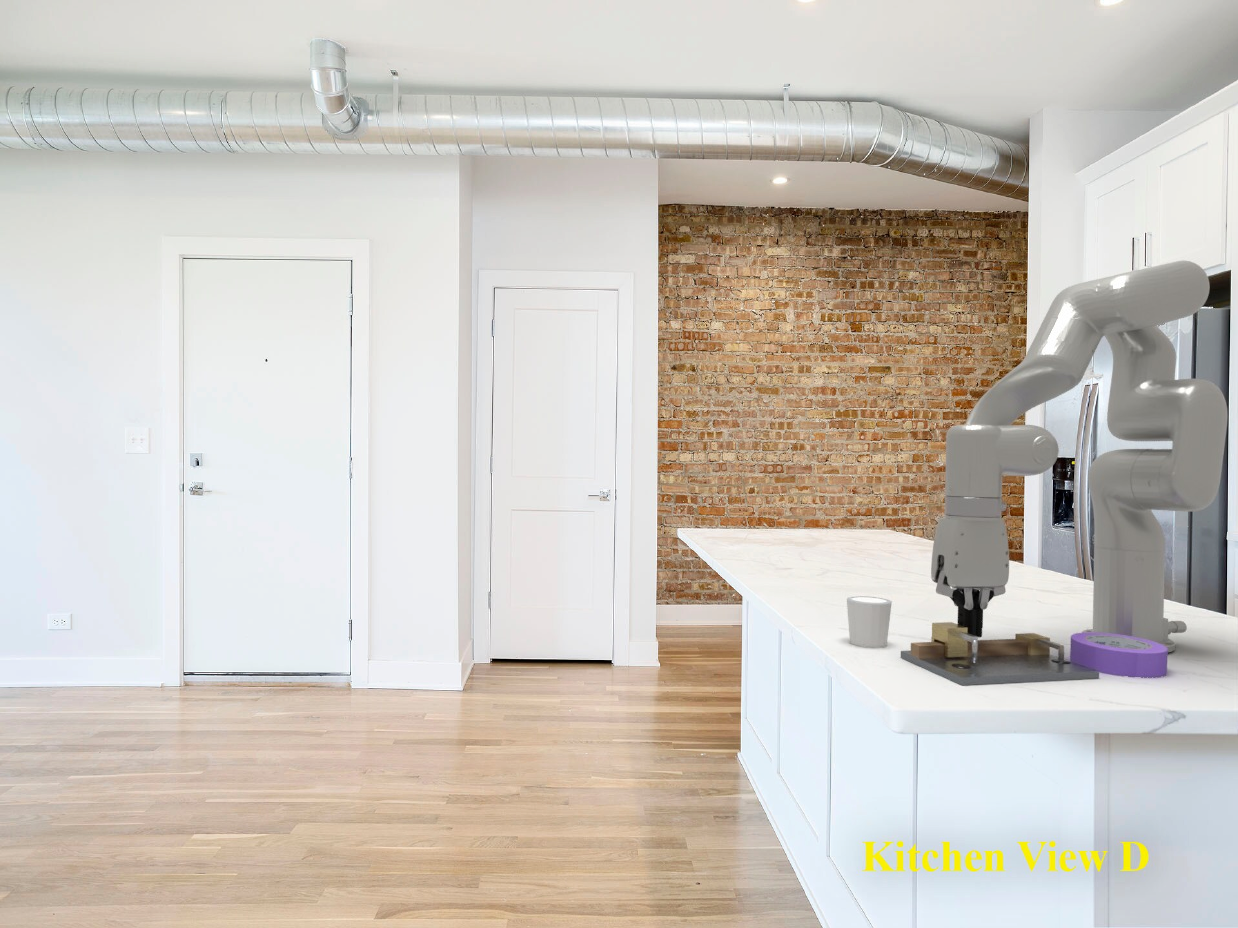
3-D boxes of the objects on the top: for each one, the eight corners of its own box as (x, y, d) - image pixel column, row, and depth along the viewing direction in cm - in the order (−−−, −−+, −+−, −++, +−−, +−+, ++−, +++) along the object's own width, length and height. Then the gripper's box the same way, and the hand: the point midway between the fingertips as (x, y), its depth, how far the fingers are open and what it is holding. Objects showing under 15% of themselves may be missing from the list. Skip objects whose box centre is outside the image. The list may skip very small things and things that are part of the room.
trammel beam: (1033, 648, 115) (1033, 633, 115) (1072, 661, 108) (1072, 644, 107) (908, 653, 110) (908, 637, 110) (940, 667, 103) (940, 650, 103)
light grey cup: (894, 649, 117) (895, 604, 117) (847, 646, 118) (848, 602, 118) (887, 639, 124) (888, 596, 124) (843, 637, 125) (844, 594, 125)
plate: (1023, 652, 117) (1023, 645, 117) (1098, 678, 103) (1099, 670, 103) (900, 657, 112) (900, 650, 112) (962, 685, 99) (962, 677, 99)
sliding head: (950, 649, 112) (951, 621, 112) (986, 663, 105) (986, 633, 105) (931, 650, 111) (931, 622, 111) (965, 664, 104) (966, 634, 104)
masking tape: (1188, 678, 105) (1189, 650, 105) (1113, 680, 103) (1114, 652, 103) (1120, 656, 116) (1120, 631, 116) (1051, 658, 114) (1052, 632, 114)
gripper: (999, 508, 116) (996, 628, 116) (911, 507, 113) (908, 630, 113) (1036, 511, 108) (1033, 639, 109) (943, 510, 105) (940, 642, 105)
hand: (969, 634), depth 111 cm, fingers closed
